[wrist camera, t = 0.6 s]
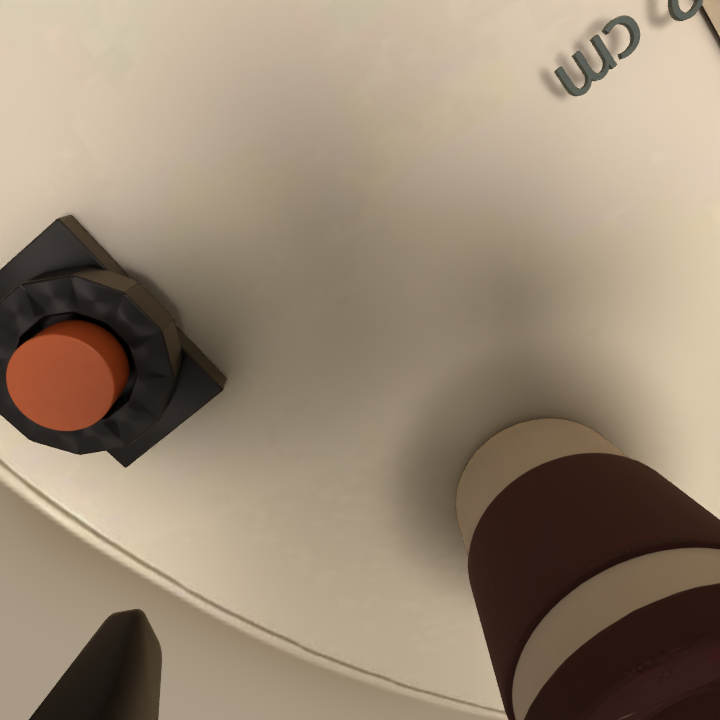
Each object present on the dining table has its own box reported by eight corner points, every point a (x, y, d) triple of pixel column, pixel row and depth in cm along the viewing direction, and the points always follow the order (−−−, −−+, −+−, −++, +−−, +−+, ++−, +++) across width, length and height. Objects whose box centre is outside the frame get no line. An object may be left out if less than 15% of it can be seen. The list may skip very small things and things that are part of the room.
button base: (238, 370, 24) (229, 400, 21) (123, 461, 24) (99, 502, 22) (82, 204, 21) (47, 212, 18) (-40, 312, 22) (-91, 336, 19)
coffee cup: (375, 513, 26) (457, 940, 12) (531, 337, 24) (849, 602, 10) (538, 618, 29) (761, 1067, 15) (691, 466, 27) (1120, 820, 13)
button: (150, 370, 21) (136, 390, 19) (82, 426, 21) (63, 450, 19) (78, 299, 20) (57, 313, 18) (8, 359, 20) (-18, 378, 18)
